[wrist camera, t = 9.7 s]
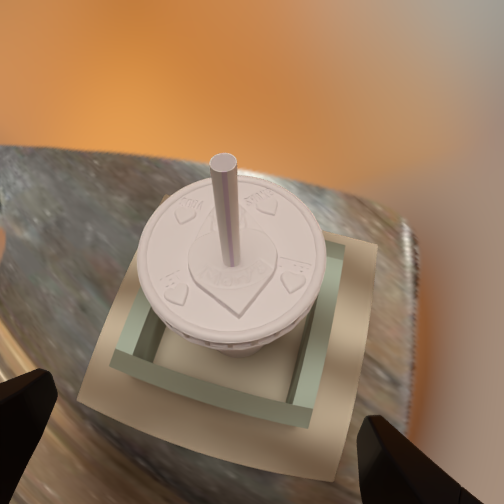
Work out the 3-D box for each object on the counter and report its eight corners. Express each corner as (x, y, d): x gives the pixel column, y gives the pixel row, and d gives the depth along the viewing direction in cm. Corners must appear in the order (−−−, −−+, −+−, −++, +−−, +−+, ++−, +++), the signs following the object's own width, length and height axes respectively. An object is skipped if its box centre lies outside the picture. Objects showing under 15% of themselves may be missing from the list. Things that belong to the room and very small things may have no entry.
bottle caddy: (329, 479, 15) (351, 494, 11) (83, 401, 17) (46, 394, 13) (373, 251, 23) (395, 216, 19) (167, 202, 25) (155, 162, 21)
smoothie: (189, 385, 17) (56, 299, 5) (182, 283, 20) (107, 90, 8) (300, 372, 18) (414, 259, 5) (282, 272, 21) (322, 70, 8)
